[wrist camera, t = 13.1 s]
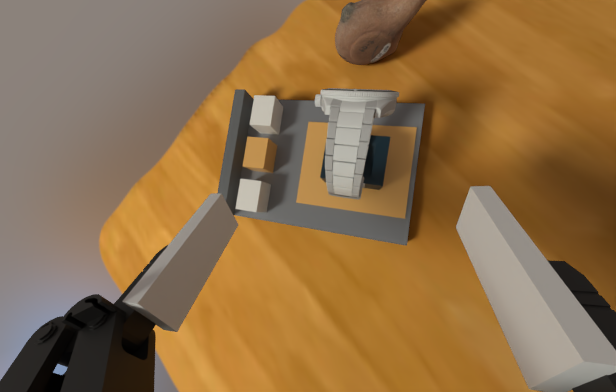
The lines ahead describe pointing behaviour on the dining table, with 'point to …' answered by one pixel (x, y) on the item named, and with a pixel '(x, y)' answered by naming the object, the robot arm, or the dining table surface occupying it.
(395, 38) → the oil lamp
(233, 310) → the dining table surface
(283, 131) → the board
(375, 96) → the watch
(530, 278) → the robot arm
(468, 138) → the dining table surface
